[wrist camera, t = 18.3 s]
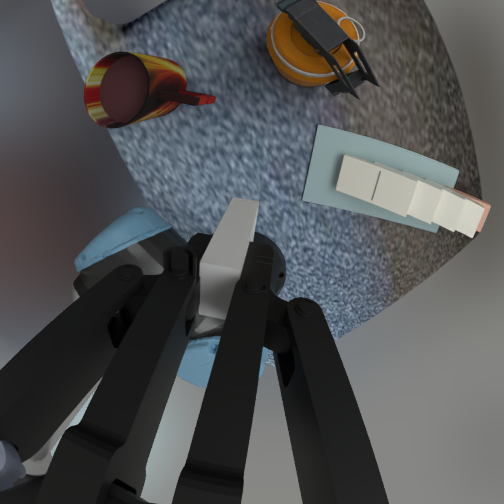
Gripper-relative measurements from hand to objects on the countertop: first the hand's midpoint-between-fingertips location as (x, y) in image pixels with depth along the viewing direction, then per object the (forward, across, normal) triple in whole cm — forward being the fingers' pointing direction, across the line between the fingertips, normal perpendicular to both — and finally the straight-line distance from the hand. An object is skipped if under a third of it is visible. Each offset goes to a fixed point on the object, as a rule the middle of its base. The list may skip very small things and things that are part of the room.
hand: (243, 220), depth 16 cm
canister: (+27, +4, +13) cm, 30 cm away
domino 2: (+25, +15, -2) cm, 30 cm away
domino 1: (+25, +11, -2) cm, 28 cm away
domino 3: (+25, +20, -2) cm, 32 cm away
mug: (+27, -16, +8) cm, 32 cm away
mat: (+26, +18, -2) cm, 32 cm away
